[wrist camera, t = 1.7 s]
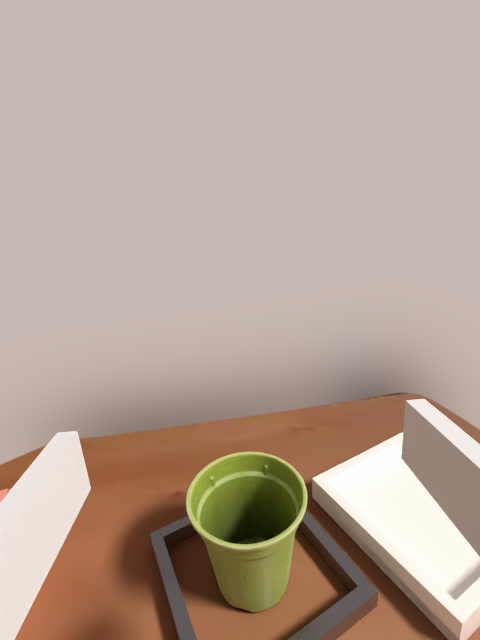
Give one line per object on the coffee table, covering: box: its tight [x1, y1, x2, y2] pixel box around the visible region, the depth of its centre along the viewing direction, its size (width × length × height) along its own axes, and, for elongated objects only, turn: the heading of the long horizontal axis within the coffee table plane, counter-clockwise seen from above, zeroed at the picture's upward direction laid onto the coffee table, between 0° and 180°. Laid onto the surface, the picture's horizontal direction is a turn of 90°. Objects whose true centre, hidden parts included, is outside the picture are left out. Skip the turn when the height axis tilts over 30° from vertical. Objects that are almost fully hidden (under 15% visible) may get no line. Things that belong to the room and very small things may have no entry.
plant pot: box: [186, 452, 307, 612], centre depth 26 cm, size 9×9×9 cm
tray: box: [312, 432, 480, 640], centre depth 31 cm, size 15×15×2 cm
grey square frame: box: [150, 511, 378, 640], centre depth 27 cm, size 14×14×2 cm
